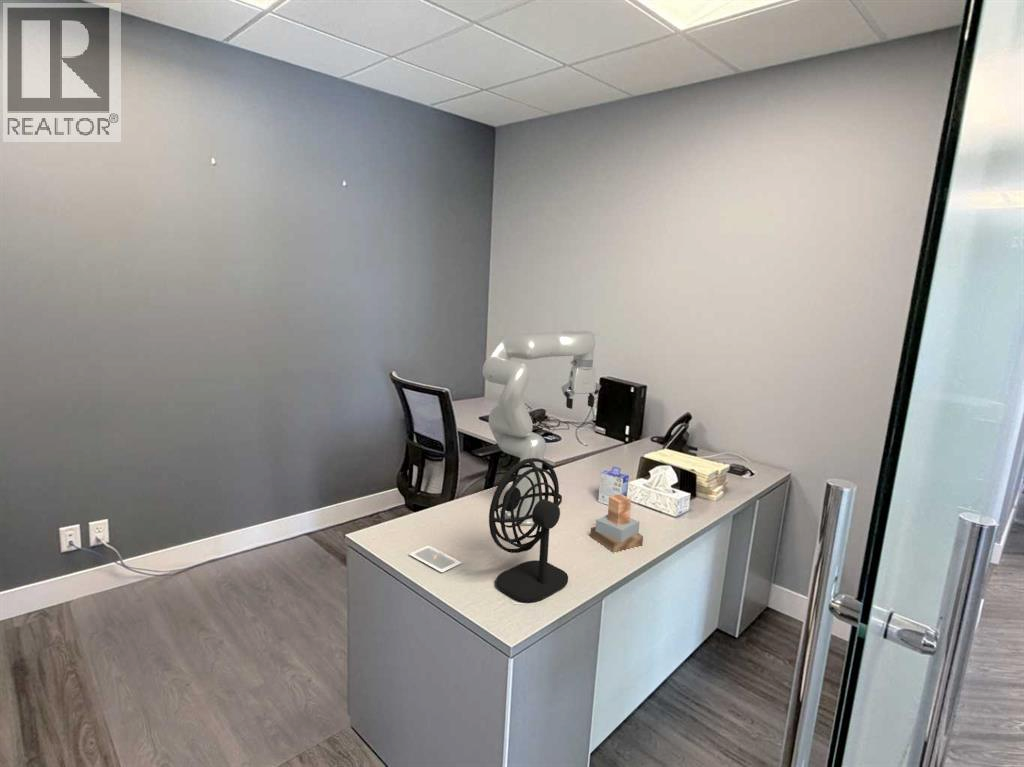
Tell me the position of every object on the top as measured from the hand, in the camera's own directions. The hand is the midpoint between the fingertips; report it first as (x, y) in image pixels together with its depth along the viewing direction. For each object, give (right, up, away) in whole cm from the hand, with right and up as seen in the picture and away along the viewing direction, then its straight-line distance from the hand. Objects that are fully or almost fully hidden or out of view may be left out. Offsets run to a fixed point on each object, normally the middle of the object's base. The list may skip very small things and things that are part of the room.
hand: (580, 407), depth 209 cm
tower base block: (+8, -44, -31) cm, 54 cm away
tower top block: (+8, -40, -32) cm, 52 cm away
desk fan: (-21, -47, -57) cm, 77 cm away
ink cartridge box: (+13, -38, 0) cm, 40 cm away
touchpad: (-49, -44, -48) cm, 82 cm away
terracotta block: (+8, -36, -33) cm, 49 cm away
